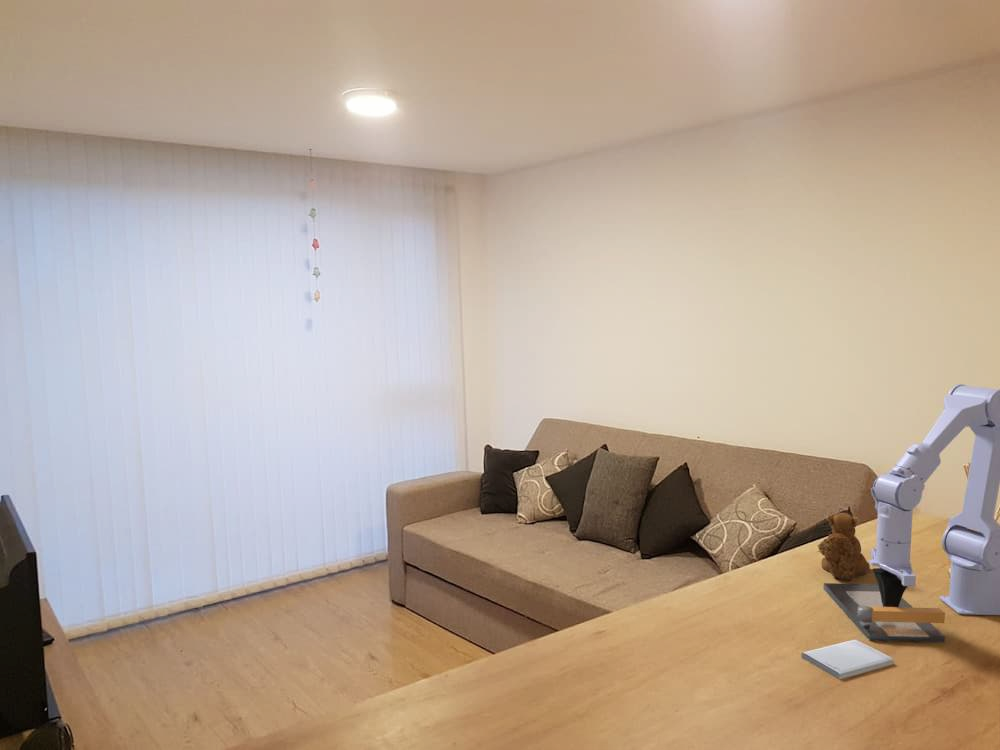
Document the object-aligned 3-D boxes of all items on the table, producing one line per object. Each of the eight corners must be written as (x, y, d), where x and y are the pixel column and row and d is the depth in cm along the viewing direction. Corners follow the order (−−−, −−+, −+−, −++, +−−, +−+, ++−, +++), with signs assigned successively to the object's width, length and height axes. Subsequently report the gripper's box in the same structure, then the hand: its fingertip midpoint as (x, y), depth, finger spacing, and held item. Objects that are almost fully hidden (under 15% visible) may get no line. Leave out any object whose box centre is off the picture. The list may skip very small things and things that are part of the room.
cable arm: (860, 621, 138) (861, 611, 138) (855, 615, 141) (855, 605, 141) (945, 624, 137) (945, 613, 137) (938, 617, 140) (938, 607, 139)
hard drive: (839, 673, 123) (894, 657, 128) (801, 651, 130) (854, 637, 135) (839, 683, 123) (893, 667, 128) (800, 660, 130) (853, 646, 135)
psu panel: (887, 590, 159) (887, 579, 159) (946, 643, 135) (946, 631, 135) (821, 588, 160) (822, 578, 160) (868, 641, 136) (869, 629, 136)
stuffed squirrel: (870, 567, 172) (873, 511, 171) (863, 588, 160) (865, 528, 159) (823, 559, 177) (825, 505, 176) (812, 579, 165) (814, 520, 164)
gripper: (856, 526, 149) (853, 592, 150) (888, 551, 134) (884, 624, 136) (893, 526, 148) (890, 593, 150) (929, 552, 134) (925, 625, 135)
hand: (890, 608), depth 143 cm, fingers closed
